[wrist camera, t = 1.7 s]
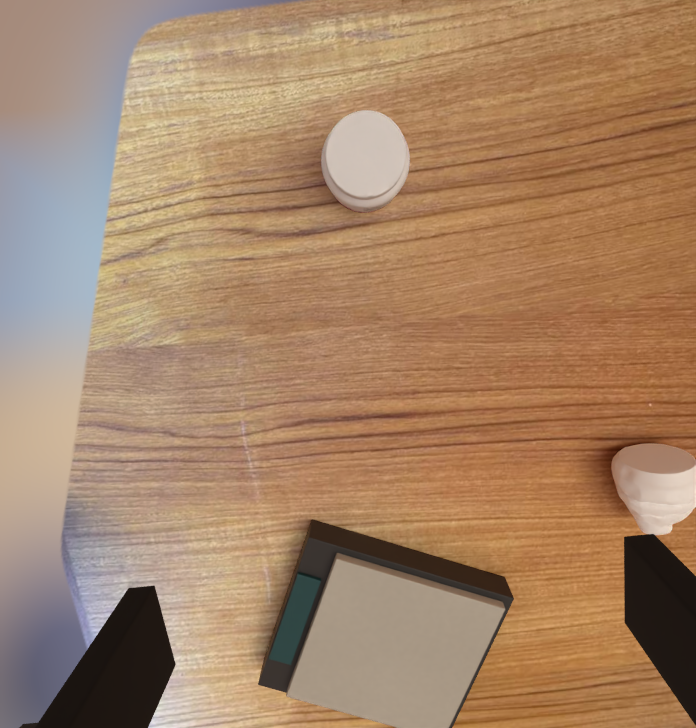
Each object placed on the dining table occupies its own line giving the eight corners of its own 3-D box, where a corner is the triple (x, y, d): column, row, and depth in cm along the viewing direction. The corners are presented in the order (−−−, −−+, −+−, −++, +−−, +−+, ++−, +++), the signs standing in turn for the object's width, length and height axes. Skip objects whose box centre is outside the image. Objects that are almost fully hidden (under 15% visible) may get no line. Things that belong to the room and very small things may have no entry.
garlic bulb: (602, 520, 38) (641, 565, 32) (597, 448, 36) (637, 483, 31) (676, 508, 37) (728, 553, 32) (673, 435, 36) (727, 469, 31)
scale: (263, 660, 42) (255, 693, 38) (311, 519, 38) (307, 543, 35) (442, 710, 42) (449, 747, 39) (505, 577, 39) (517, 606, 36)
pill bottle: (313, 163, 32) (297, 137, 24) (376, 119, 31) (382, 77, 23) (352, 227, 33) (350, 224, 25) (414, 187, 32) (433, 169, 24)
